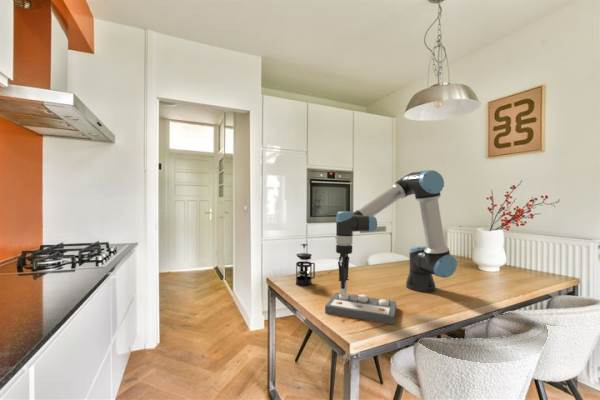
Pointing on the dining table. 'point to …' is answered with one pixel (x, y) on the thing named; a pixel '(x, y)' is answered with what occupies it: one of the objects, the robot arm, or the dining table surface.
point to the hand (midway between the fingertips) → (343, 294)
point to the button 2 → (384, 302)
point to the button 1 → (343, 297)
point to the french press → (304, 278)
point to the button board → (362, 309)
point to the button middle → (363, 298)
